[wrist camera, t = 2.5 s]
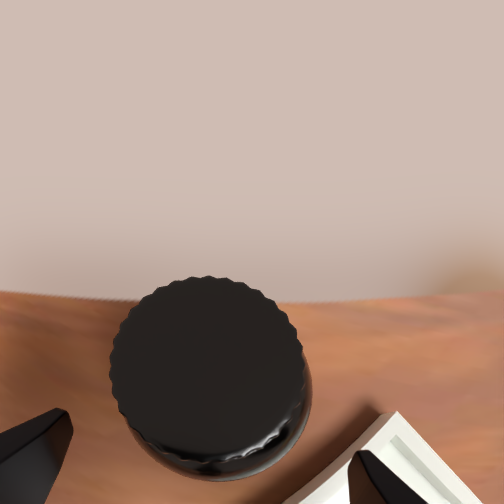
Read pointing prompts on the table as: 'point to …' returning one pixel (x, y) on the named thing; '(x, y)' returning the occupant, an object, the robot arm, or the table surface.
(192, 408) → the supplement bottle
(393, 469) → the ceramic tray
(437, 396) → the table surface
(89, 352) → the table surface
